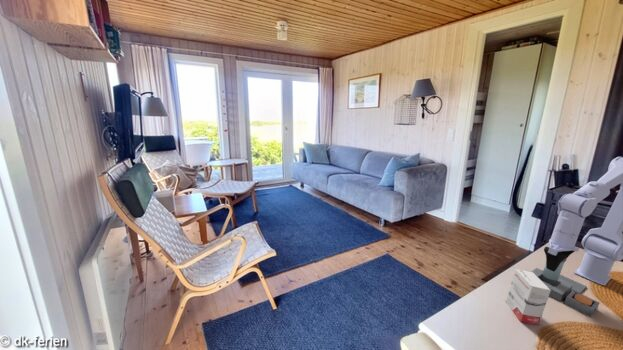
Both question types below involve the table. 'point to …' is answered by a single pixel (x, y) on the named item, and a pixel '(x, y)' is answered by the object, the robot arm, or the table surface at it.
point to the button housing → (581, 304)
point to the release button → (583, 299)
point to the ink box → (527, 296)
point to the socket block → (560, 285)
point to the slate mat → (574, 284)
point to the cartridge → (551, 274)
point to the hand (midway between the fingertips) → (553, 267)
